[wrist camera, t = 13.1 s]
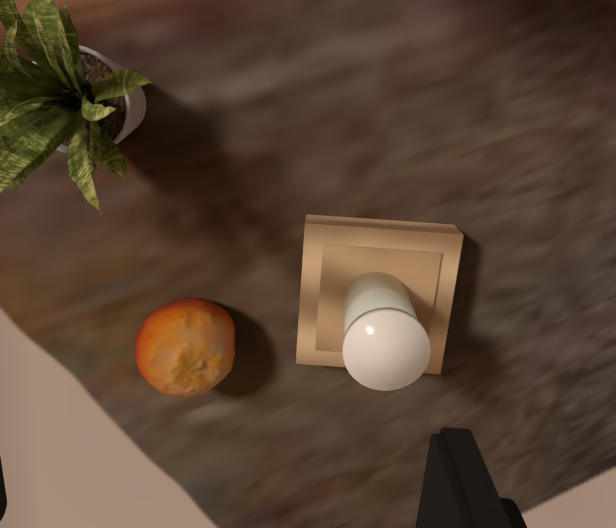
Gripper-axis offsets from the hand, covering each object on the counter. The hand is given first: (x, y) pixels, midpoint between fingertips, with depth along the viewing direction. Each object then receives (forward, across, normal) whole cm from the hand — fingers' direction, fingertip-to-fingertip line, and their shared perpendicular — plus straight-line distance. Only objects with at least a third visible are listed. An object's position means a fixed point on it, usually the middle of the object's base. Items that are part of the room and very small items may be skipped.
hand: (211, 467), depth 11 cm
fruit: (+33, +8, +13) cm, 36 cm away
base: (+32, -7, +8) cm, 34 cm away
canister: (+29, -7, +8) cm, 31 cm away
